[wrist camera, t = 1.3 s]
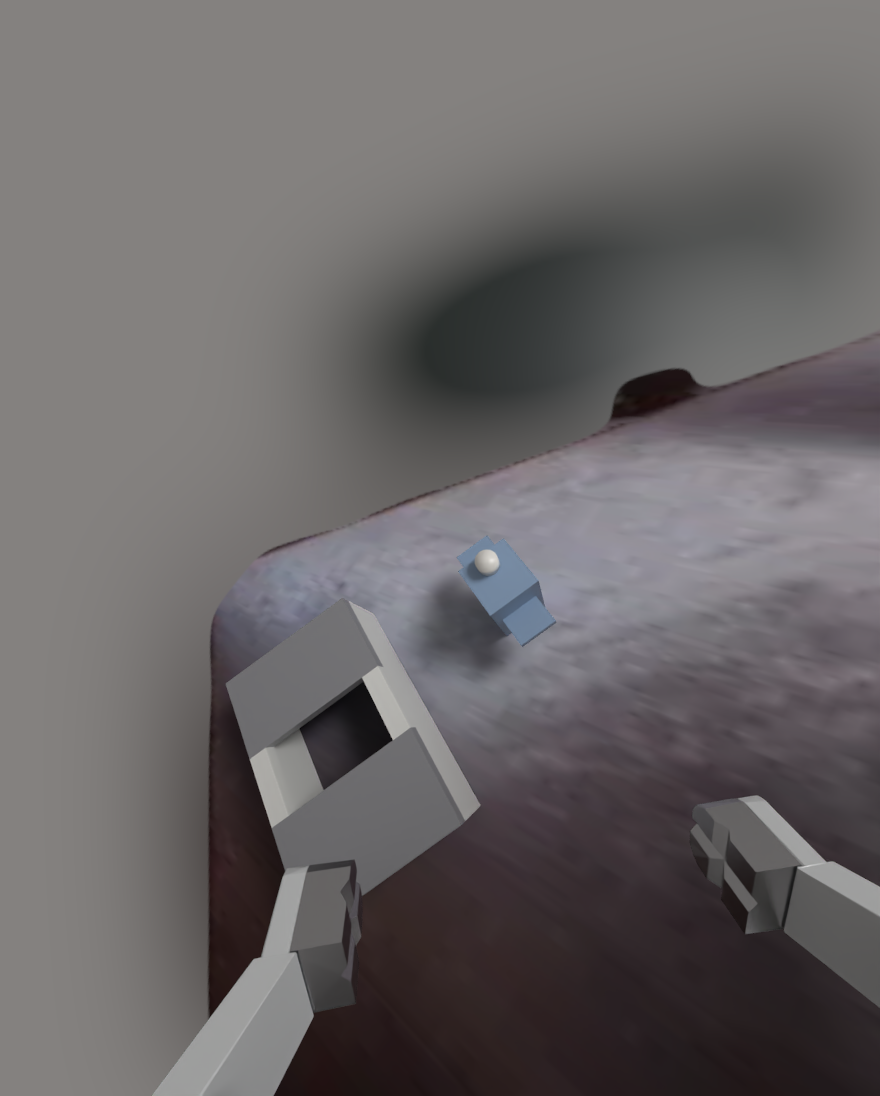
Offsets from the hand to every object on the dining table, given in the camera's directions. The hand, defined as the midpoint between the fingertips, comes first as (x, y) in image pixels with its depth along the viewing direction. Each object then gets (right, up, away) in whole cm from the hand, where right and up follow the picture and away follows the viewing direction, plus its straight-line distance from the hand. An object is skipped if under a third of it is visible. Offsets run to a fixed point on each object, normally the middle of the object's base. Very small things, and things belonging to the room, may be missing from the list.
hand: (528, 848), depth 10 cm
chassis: (-9, -9, +25) cm, 28 cm away
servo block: (+4, +2, +26) cm, 26 cm away
